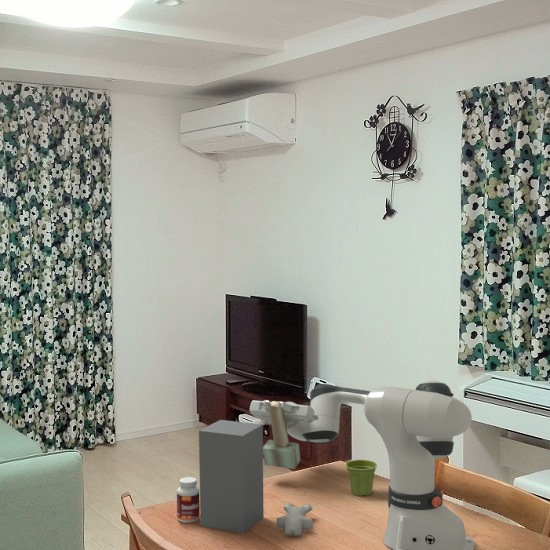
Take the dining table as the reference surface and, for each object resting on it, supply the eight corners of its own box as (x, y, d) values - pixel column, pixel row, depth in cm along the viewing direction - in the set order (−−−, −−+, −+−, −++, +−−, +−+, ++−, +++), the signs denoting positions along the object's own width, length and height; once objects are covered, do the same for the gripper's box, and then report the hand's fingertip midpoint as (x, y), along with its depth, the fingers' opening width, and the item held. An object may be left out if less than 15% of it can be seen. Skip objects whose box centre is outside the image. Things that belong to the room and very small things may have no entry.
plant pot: (339, 494, 236) (339, 465, 235) (355, 485, 244) (355, 457, 243) (367, 500, 231) (367, 471, 230) (382, 491, 238) (382, 462, 238)
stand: (263, 517, 219) (262, 424, 217) (243, 533, 208) (242, 435, 206) (221, 510, 224) (220, 419, 222) (200, 526, 213) (198, 430, 211)
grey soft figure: (273, 523, 205) (281, 496, 219) (274, 541, 206) (281, 513, 220) (310, 524, 203) (315, 497, 218) (311, 543, 204) (315, 514, 219)
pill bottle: (180, 525, 214) (180, 485, 213) (174, 517, 220) (173, 478, 219) (202, 521, 217) (202, 481, 216) (195, 513, 222) (195, 474, 221)
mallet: (293, 403, 240) (286, 411, 235) (300, 460, 246) (294, 469, 242) (263, 400, 244) (256, 408, 240) (271, 456, 250) (264, 464, 246)
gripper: (318, 430, 244) (303, 417, 233) (258, 423, 253) (241, 410, 241) (322, 410, 247) (307, 396, 235) (262, 404, 255) (245, 390, 244)
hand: (273, 403), depth 239 cm, fingers closed on mallet, 3 cm apart
